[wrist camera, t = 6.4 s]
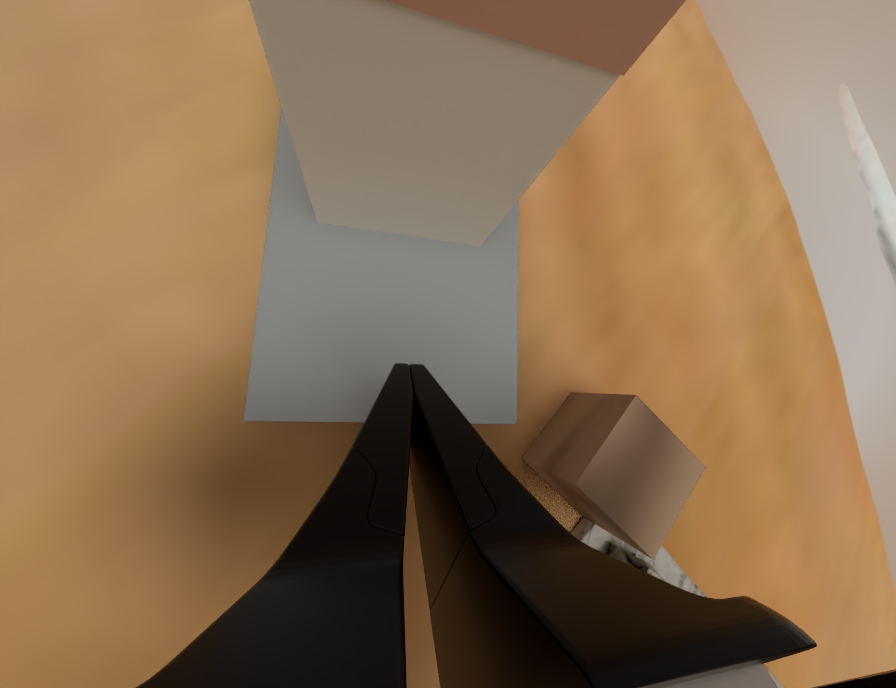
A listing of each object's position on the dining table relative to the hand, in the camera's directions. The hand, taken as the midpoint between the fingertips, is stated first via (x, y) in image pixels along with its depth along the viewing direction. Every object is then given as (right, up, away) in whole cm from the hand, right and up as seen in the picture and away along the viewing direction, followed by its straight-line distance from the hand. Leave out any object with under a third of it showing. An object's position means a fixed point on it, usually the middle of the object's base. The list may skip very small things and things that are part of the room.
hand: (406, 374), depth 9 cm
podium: (-1, +7, +9) cm, 11 cm away
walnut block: (+9, -6, +10) cm, 14 cm away
